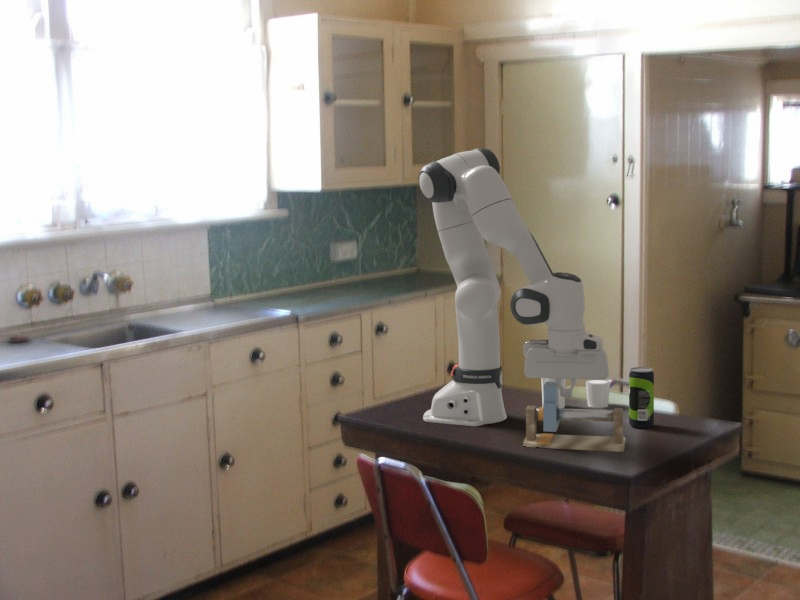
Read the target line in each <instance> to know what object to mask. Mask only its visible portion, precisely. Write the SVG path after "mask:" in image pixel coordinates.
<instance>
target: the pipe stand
mask: <svg viewBox="0 0 800 600" xmlns="http://www.w3.org/2000/svg"><path fill="white" fill-rule="evenodd" d="M556 415H557V420H559V421H574V422H575V421H576V422H577V421H579V422H581V421H582V422H603V423H605V422H607V423H609V422H610V423H613V436H606V435H605V436H604V435H602V436H601V435H575V434H554V433H547V432H546V433H545V432H544V433H537V420H538V421H543V407H542V406H539V407H537V405H527V407H526V408H525V438H524V439H523V442H522V447H523V446H526V447H525V448H536V447H539V449H540V448H541V449H555V450H557V449H559V450H577V451H578V450H579V451H580V450H581V451H595V452H596V451H597V452H598V451H599V452H618V453H619V452H621V453H624V452H625V449H626V437H625V436H624V408H622V407H621V408H620V407H615V408H614V409H592V408H591V409H590V408H589V409H586V408H585V409H584V408H561V409H558V408H556Z"/></svg>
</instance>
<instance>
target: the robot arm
mask: <svg viewBox="0 0 800 600" xmlns="http://www.w3.org/2000/svg"><path fill="white" fill-rule="evenodd" d="M500 173H501V167H500V162H499V159H498V157H497V156H496V154H495V153H494V152H493V151H492V150H491V149H489V148H486V147H485V148H480V147H479V148H474V149H472V150H466V151H461V152H456V153H453V154H451V155H449V156H446V157H443V158H440V159H439V160H436V161H434V160H433V161H431V162H429V163H427V164H426V165H423V167H421V168H420V169H419V174H418V187H419V189H420V192H421V195H423V196H424V198H425V199H426V200H427V201H429V202H431V203H432V212H433V217H434V222H435V225H436V227H435V228H436V231H437V234H438V237H439V240H440V243H441V247H442V250H443V253H444V258H445V261H446V262H447V265H448V266H449V269H450V271H451V274H452V276H453V279H454V282H455V284H456V291H455V292H454V293H455V295H454V304H455V317H456V318H455V321H456V329H457V330H456V331H457V339H458V340H457V341H458V345H457V346H458V364H454V366H453V367H452V368H451V369H452V370H451V374H450V376H451V379H452V380H451V381H449V382H448V383H447V384H446V385H444V386H443V387H441V388H440V389H439V390H438V391H437V392H435V394H434V396H433V397H432V400H431V407H430V409H427V410H426V411H425V412H424V413H423V416H422V420H423V421H424V422H426V423H427V422H429V423H436V424H437V423H438V424H447V425H455V426H469V427H479V426H483V425H484V426H485V425H488V424H496V423H500V422H503V421H505V420H506V419H507V418H508V416H507V413H506V409H505V406H504V400H503V393H502V387H503V370H502V369H503V367H502V366H501V342H500V340H501V339H500V338H501V337H500V327H499V312H498V303H499V301H500V299H501V294H502V293H501V290H502V289H501V287H500V283H499V279H498V277H497V274H496V271H495V268H494V266H493V263H492V259H491V257H490V254H489V252H488V249H487V247H486V244H485V241H486V242H488V243H490V244H492V245H495V246H496V247H497V246H498V247H500V248H502V249H504V250H506V251H507V252H510V253H511V254H512V255H513V256H514V257H515V258H516V260H517V261H518V263H519V265H520V267H521V269H522V271H523V272H524V274H525V277H526V278H527V280H528V281H529V284H530V285H527V286H523V287H520V288H519V289H518V290H516V291H515V292H514V293H513V294H512V296H511V299H510V306H509V308H510V312H511V314H512V316H513V318H514V319H515V320H516V321H517V322H518V323H519V324H522V325H525V326H535V325H538V324H546V325H547V339H530V340H528V341H526V342H524V344H523V346H522V347H523V348H522V354H523V356H524V357H525V360H524V367H523V368H524V370H523V371H524V372H523V373H524V376H525V377H526V378H528V379H530V378H531V379H534V378H535V379H541V378H556V384H557V386H558V388H559V389H560V397H565V398H567V397H568V398H572V397H573V391H574V388H575V386H576V385H577V382H578V380H607V379H608V377H609V374H610V373H609V371H610V370H609V359H608V355H607V354H608V353H607V352H606V350H605V349H604V348H603V347H604V338H602V337H600V336H598V335H595V334H591V333H588V332H585V331H586V328H585V327H586V325H585V323H584V314H585V309H586V307H585V304H586V303H585V290H584V284H583V281H582V279H581V278H580V277H579V276H577V275H576V274H573V273H569V272H561V271H560V272H559V271H558V272H557V271H556V272H553V270H552V269H551V266H550V265H549V263H548V261H547V259H546V257H545V255H544V254H543V251H542V250H541V248H540V246H539V244H538V242H537V241H536V240H537V239H535V236H534V235H533V234H532V232H531V231H530V229H529V227H528V226H527V225H526V223H525V222H524V220H523V218H522V216H521V214H520V212H519V210H518V208H517V206H516V204H515V202H514V199H513V197H512V195H511V193H510V191H509V188H508V186H507V185H506V183H505V182H504V180H503V178H502V176H501V175H500ZM562 379H566V380H569V379H570V384H571V385H570V387H569V388H568V387H567V388H566V387H565V388H563V386H562V385H561V382H562Z"/></svg>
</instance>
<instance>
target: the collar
mask: <svg viewBox="0 0 800 600" xmlns="http://www.w3.org/2000/svg"><path fill="white" fill-rule="evenodd" d="M542 406H543V420H542V421H543V422H542V423H543V424H542V425H543V432H546V433H548V432H550V433H551V432H552V433H553V432H554V433H555V432H557V430H558V428H559V426H560V425H559V424H560V420H557V415H556V408H558V409H559V397H558V386H557V384H556V382H545V384H544V403H543V405H542Z"/></svg>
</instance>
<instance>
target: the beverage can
mask: <svg viewBox="0 0 800 600" xmlns="http://www.w3.org/2000/svg"><path fill="white" fill-rule="evenodd" d="M654 406H655V373H654V369H653V368H651V367H647V366H646V367H644V366H638V367H637V366H635V367H632V368H630V372H629V373H628V423H629V425H630V426H631V428H634V429H639V430H641V429H645V430H646V429H650V428H652V427H653V425H654V424H655V423H654V422H655V421H654V420H655V417H654V416H655V414H654V411H655V407H654Z"/></svg>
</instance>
